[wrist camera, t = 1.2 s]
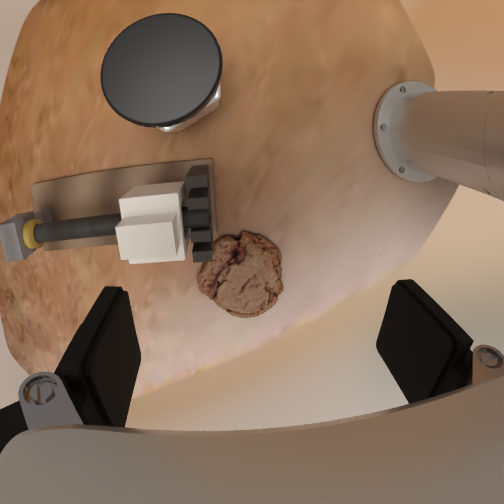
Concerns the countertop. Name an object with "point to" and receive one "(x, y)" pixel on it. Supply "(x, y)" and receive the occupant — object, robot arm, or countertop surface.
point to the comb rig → (108, 208)
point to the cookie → (242, 275)
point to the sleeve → (153, 224)
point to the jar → (163, 72)
